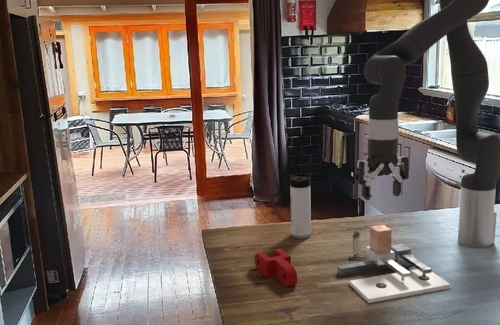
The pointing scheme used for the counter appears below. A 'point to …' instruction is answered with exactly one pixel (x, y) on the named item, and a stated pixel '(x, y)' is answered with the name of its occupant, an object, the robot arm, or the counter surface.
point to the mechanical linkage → (277, 266)
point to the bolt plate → (397, 285)
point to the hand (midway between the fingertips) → (381, 197)
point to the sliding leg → (383, 250)
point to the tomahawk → (356, 247)
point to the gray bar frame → (401, 258)
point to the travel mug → (300, 206)
